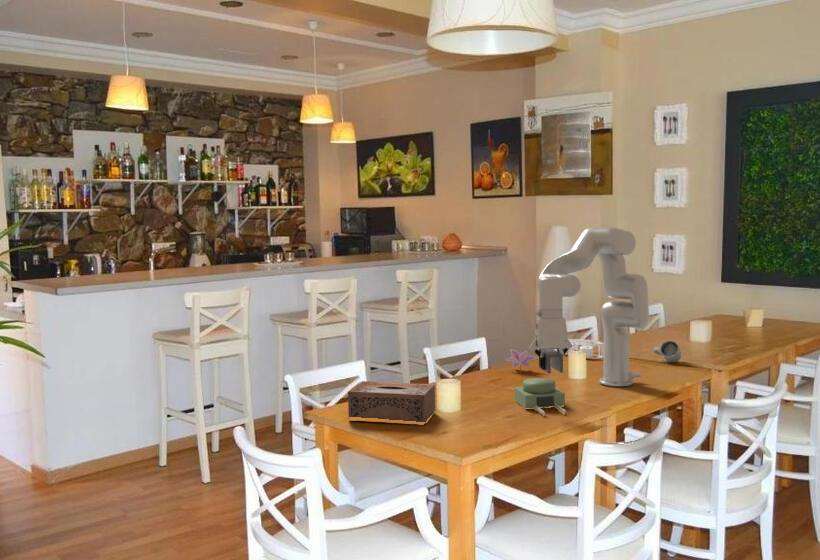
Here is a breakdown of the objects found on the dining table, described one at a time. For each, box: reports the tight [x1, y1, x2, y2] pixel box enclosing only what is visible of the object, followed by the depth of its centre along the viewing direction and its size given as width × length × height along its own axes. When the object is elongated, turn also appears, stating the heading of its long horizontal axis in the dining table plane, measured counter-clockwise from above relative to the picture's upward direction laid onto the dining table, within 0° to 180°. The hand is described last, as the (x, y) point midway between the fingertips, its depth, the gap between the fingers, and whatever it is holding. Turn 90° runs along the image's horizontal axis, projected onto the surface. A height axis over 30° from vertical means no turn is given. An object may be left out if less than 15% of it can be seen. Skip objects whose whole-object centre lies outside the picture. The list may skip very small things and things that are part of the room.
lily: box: [505, 348, 538, 374], centre depth 315 cm, size 12×12×10 cm
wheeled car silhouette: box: [564, 338, 604, 360], centre depth 341 cm, size 20×11×7 cm, turn 37°
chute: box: [538, 349, 564, 374], centre depth 251 cm, size 5×9×6 cm, turn 9°
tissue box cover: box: [347, 380, 436, 422], centre depth 252 cm, size 26×14×10 cm, turn 75°
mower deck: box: [514, 377, 567, 415], centre depth 259 cm, size 14×21×8 cm, turn 9°
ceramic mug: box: [653, 340, 682, 364], centre depth 326 cm, size 11×8×8 cm
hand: (550, 367), depth 251 cm, fingers closed on chute, 5 cm apart
